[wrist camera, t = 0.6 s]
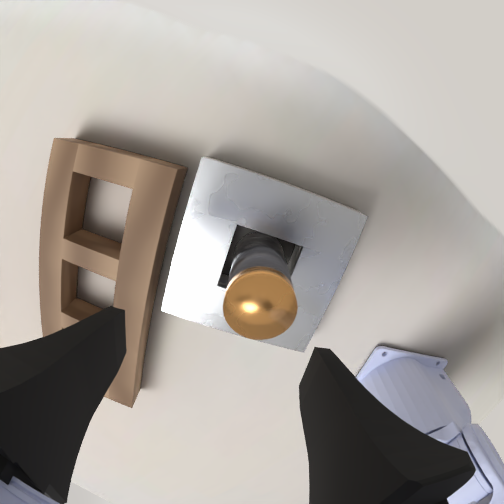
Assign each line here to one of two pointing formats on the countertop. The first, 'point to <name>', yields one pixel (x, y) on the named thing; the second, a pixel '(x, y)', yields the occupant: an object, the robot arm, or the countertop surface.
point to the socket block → (266, 221)
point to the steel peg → (259, 289)
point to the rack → (106, 244)
